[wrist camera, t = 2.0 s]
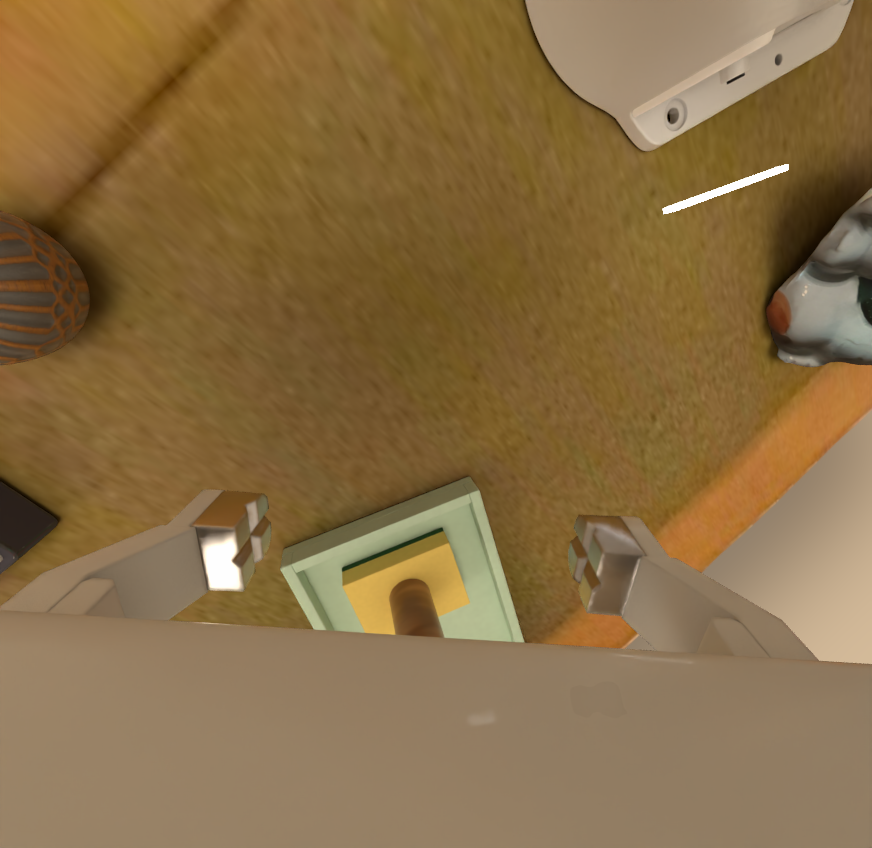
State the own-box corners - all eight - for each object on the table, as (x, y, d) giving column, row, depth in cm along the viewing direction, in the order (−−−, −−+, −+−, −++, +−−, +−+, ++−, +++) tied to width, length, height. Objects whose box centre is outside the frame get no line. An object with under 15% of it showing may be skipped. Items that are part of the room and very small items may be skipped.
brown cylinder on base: (442, 526, 31) (493, 640, 21) (462, 585, 33) (518, 713, 23) (341, 567, 30) (345, 706, 20) (369, 624, 33) (385, 775, 22)
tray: (469, 475, 31) (479, 489, 29) (522, 651, 39) (533, 672, 36) (283, 548, 30) (279, 569, 28) (375, 718, 37) (377, 744, 35)
